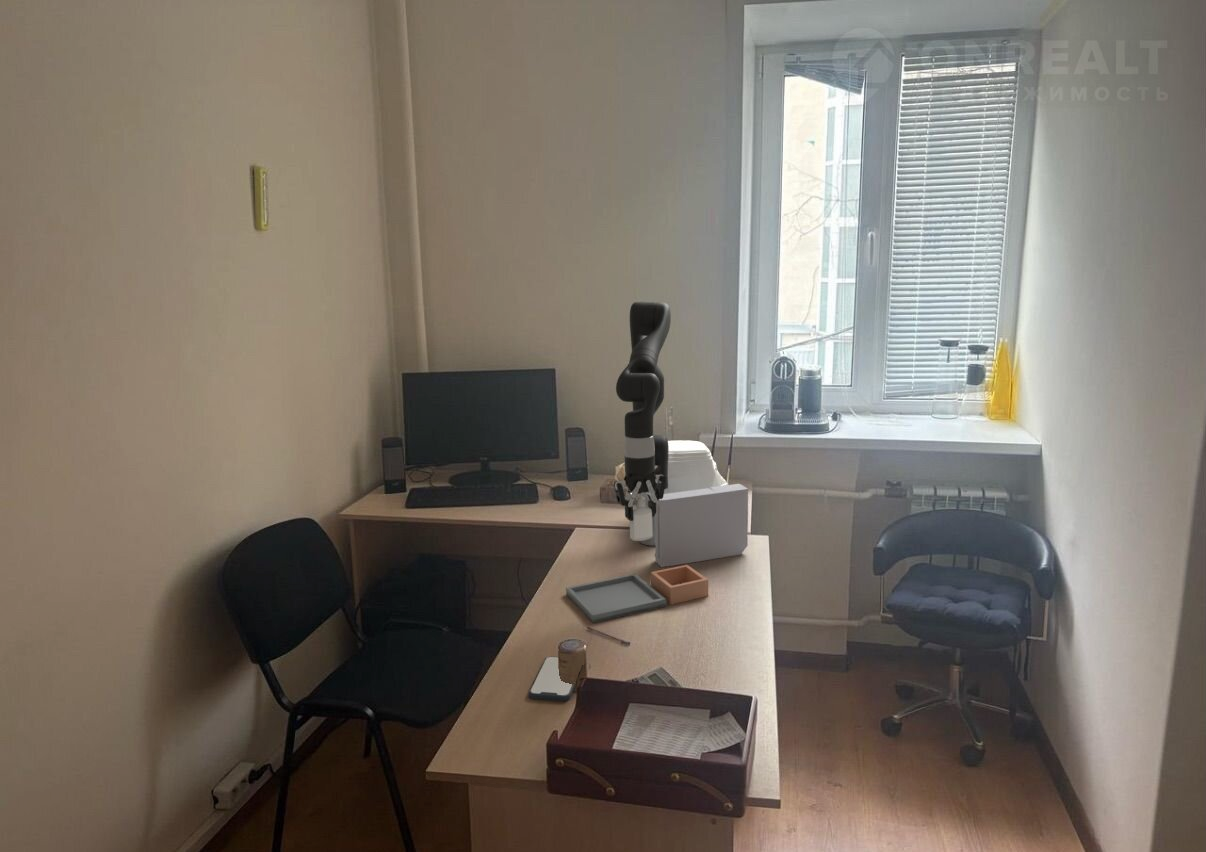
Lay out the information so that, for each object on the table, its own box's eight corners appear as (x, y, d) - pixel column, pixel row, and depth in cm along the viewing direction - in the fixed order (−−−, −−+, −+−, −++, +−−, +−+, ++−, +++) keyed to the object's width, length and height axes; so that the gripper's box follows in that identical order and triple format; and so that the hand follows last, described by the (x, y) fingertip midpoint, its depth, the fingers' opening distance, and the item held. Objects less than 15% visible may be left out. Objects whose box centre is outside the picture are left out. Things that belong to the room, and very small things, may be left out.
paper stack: (648, 511, 271) (646, 438, 266) (727, 510, 269) (728, 437, 263) (646, 533, 251) (645, 454, 245) (733, 532, 249) (733, 453, 243)
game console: (653, 560, 229) (652, 494, 225) (738, 547, 237) (738, 483, 233) (660, 567, 224) (659, 500, 219) (747, 554, 232) (748, 488, 227)
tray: (566, 594, 208) (566, 587, 208) (635, 580, 216) (634, 573, 215) (593, 623, 192) (592, 615, 191) (666, 606, 200) (666, 599, 199)
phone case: (545, 662, 176) (526, 701, 161) (545, 655, 176) (526, 693, 160) (585, 664, 174) (569, 704, 159) (584, 658, 174) (569, 696, 159)
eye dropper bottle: (652, 541, 199) (651, 495, 196) (629, 541, 200) (628, 495, 197) (652, 535, 203) (652, 490, 201) (630, 535, 204) (629, 490, 201)
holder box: (650, 588, 210) (650, 572, 209) (687, 580, 215) (687, 564, 214) (670, 604, 201) (670, 587, 200) (708, 595, 205) (708, 579, 204)
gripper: (657, 446, 203) (658, 509, 206) (606, 453, 197) (608, 518, 201) (672, 452, 196) (673, 517, 200) (620, 460, 190) (621, 527, 194)
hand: (640, 517), depth 200 cm, fingers closed on eye dropper bottle, 5 cm apart
